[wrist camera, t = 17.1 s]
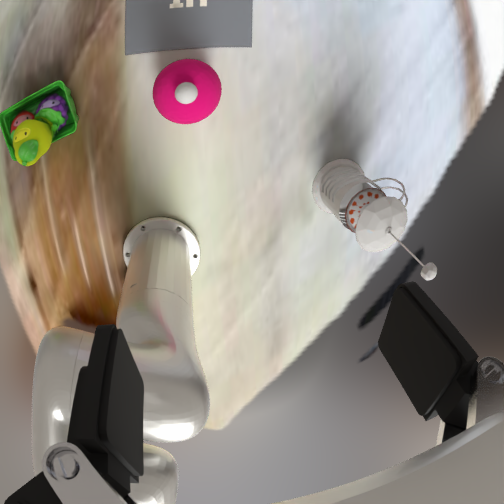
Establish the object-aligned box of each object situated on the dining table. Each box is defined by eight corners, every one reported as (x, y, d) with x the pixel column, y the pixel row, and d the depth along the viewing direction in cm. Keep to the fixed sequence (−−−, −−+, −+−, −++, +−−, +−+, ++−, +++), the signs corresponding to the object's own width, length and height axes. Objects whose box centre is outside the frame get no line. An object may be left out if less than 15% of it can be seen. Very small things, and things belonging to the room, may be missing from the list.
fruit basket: (75, 76, 33) (41, 79, 24) (92, 131, 38) (63, 151, 29) (13, 109, 33) (-28, 124, 23) (31, 160, 37) (-6, 186, 28)
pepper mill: (178, 121, 40) (168, 156, 23) (152, 78, 36) (121, 80, 19) (225, 95, 39) (250, 110, 22) (200, 52, 35) (206, 31, 19)
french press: (301, 178, 48) (386, 270, 27) (362, 142, 46) (474, 208, 25) (326, 224, 53) (403, 326, 32) (380, 190, 51) (477, 271, 30)
